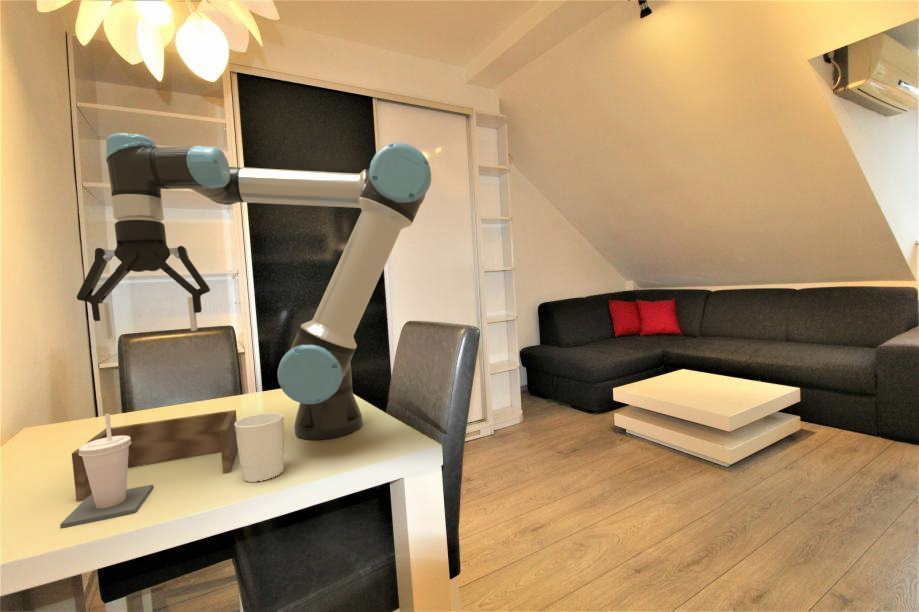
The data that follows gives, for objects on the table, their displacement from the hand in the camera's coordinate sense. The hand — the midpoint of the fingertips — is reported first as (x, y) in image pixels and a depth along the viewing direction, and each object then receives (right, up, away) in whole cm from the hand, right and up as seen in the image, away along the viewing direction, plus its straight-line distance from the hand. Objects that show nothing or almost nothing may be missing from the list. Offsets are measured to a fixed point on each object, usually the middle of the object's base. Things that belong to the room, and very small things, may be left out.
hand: (152, 334), depth 81 cm
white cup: (+23, -25, -4) cm, 34 cm away
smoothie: (+3, -26, -13) cm, 29 cm away
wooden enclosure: (+3, -26, 0) cm, 26 cm away
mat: (+3, -26, -13) cm, 30 cm away
